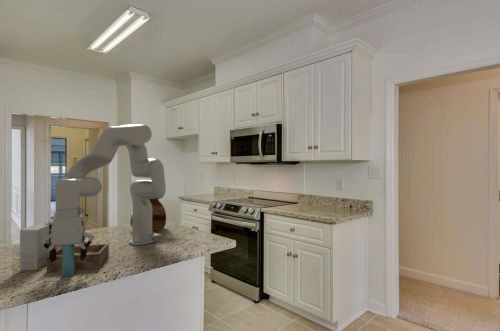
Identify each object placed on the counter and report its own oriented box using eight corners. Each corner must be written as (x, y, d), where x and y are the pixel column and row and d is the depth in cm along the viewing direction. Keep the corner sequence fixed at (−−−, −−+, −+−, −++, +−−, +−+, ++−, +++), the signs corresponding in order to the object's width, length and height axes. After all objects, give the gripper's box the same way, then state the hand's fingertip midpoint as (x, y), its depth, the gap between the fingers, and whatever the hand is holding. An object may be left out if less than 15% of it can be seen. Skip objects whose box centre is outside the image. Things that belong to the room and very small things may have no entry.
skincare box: (33, 263, 118) (33, 224, 118) (50, 262, 119) (50, 224, 119) (18, 270, 110) (18, 229, 110) (37, 270, 111) (37, 229, 110)
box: (108, 256, 127) (108, 243, 127) (99, 268, 113) (99, 253, 113) (62, 259, 123) (62, 246, 123) (46, 271, 109) (46, 256, 109)
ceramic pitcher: (165, 233, 168) (165, 180, 167) (127, 235, 163) (127, 181, 163) (167, 226, 187) (167, 178, 186) (133, 227, 183) (133, 179, 182)
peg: (76, 272, 109) (75, 240, 108) (72, 276, 105) (72, 242, 105) (64, 273, 108) (64, 240, 108) (60, 277, 104) (60, 243, 104)
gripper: (97, 210, 112) (97, 255, 112) (45, 212, 108) (46, 258, 108) (91, 214, 104) (91, 262, 105) (35, 215, 101) (36, 265, 101)
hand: (68, 260), depth 106 cm, fingers open, 9 cm apart
